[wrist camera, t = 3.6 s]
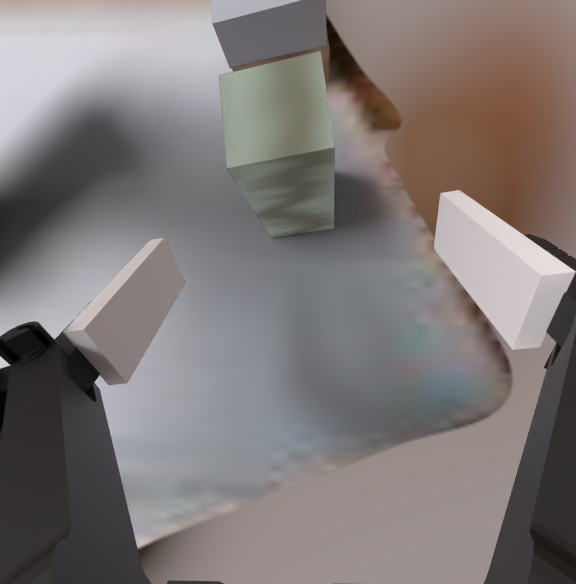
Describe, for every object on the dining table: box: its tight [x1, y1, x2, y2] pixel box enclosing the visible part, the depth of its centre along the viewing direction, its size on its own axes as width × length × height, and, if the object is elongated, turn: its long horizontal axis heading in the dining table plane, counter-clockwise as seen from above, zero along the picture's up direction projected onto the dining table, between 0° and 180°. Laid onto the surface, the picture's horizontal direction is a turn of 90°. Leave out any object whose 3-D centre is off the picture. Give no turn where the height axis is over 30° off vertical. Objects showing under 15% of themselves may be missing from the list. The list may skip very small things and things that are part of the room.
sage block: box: [219, 51, 335, 238], centre depth 22 cm, size 6×6×12 cm
